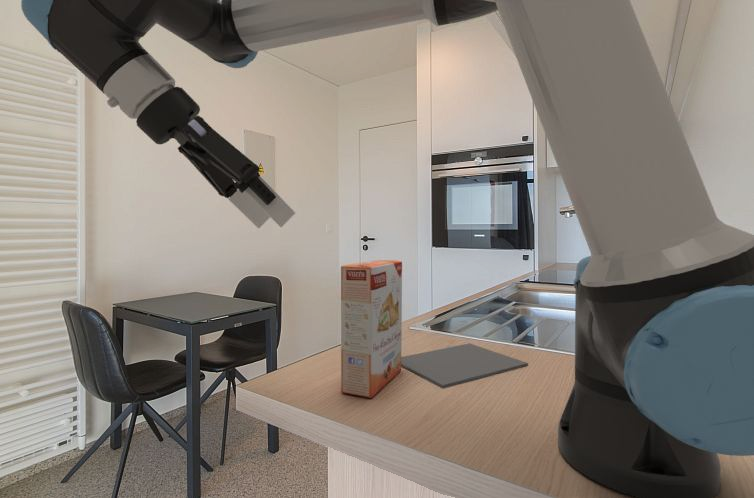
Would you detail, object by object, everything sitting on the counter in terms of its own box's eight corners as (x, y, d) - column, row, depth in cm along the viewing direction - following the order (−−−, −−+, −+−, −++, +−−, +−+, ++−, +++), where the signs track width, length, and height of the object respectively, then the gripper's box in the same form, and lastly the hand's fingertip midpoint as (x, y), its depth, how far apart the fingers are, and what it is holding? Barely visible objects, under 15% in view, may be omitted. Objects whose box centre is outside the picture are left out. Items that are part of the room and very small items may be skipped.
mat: (528, 365, 76) (528, 363, 76) (442, 388, 65) (442, 385, 65) (469, 345, 90) (469, 343, 90) (391, 361, 79) (391, 358, 79)
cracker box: (373, 400, 61) (372, 265, 60) (339, 394, 63) (337, 264, 62) (404, 370, 74) (403, 259, 73) (374, 366, 76) (373, 259, 75)
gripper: (137, 141, 60) (241, 238, 68) (126, 90, 39) (280, 240, 47) (175, 111, 63) (271, 208, 71) (184, 47, 41) (321, 197, 49)
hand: (275, 221), depth 59 cm, fingers open, 12 cm apart
